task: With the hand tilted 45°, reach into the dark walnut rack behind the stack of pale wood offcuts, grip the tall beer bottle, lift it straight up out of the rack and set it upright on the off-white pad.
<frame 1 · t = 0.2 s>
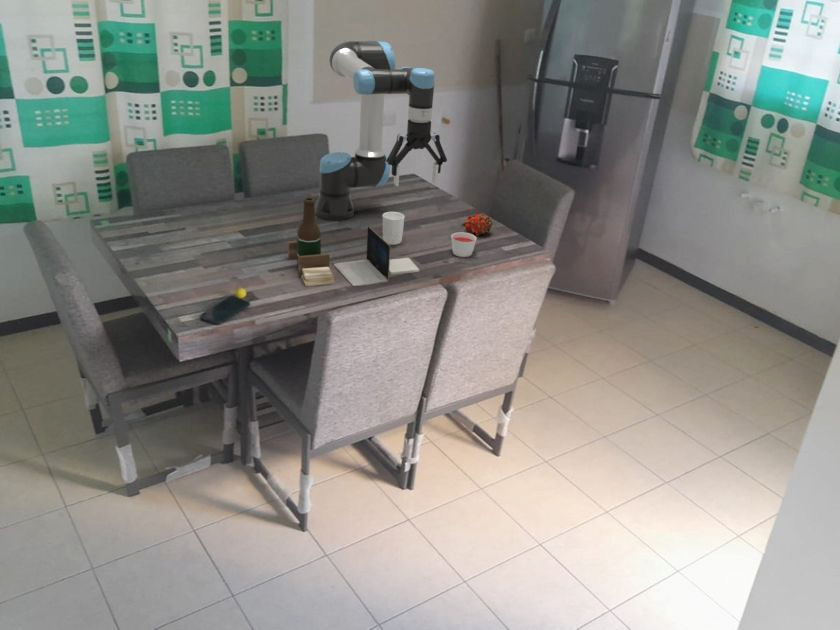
hand: (415, 183, 260), 28 cm above the table, tool pointing down, fingers open, 13 cm apart
beer bottle: (308, 267, 264), on the table
laptop: (360, 274, 262), on the table
placing pad: (400, 267, 269), on the table
dragon fruit: (476, 234, 300), on the table
white cup: (392, 241, 288), on the table
candle: (462, 254, 283), on the table
offcut rack: (311, 271, 260), on the table
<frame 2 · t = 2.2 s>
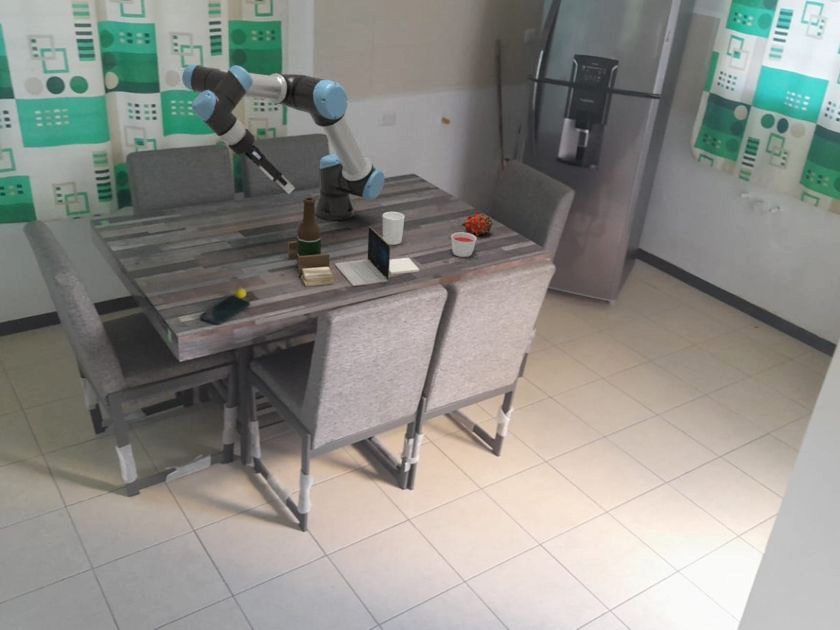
hand: (283, 184, 244), 30 cm above the table, tool tilted 40°, fingers open, 13 cm apart
nothing on the table moved.
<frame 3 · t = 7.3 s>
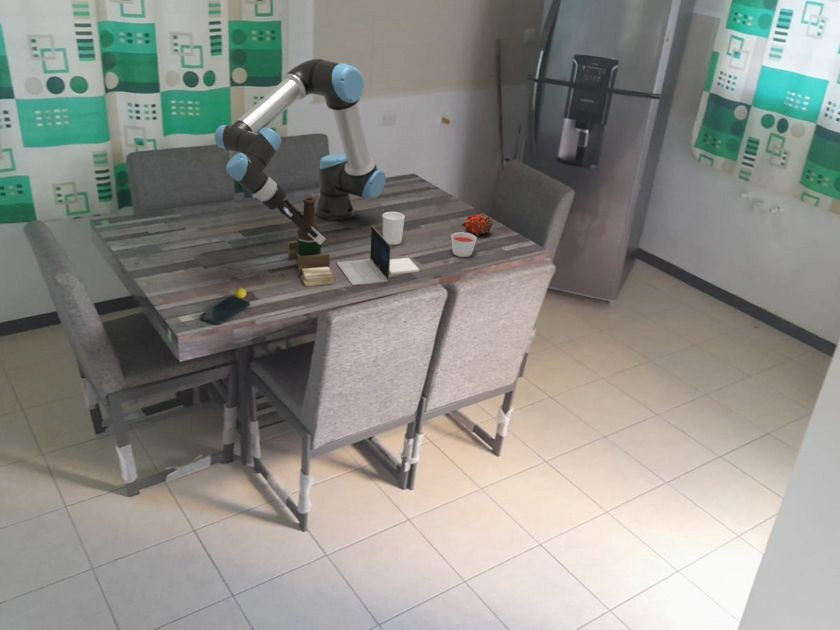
hand: (319, 236, 260), 11 cm above the table, tool tilted 45°, fingers closed on beer bottle, 7 cm apart
beer bottle: (309, 267, 264), on the table, touching gripper
when the fingers open (13 cm above the table, at t = 16.0 s): beer bottle drops 2 cm, resting on placing pad.
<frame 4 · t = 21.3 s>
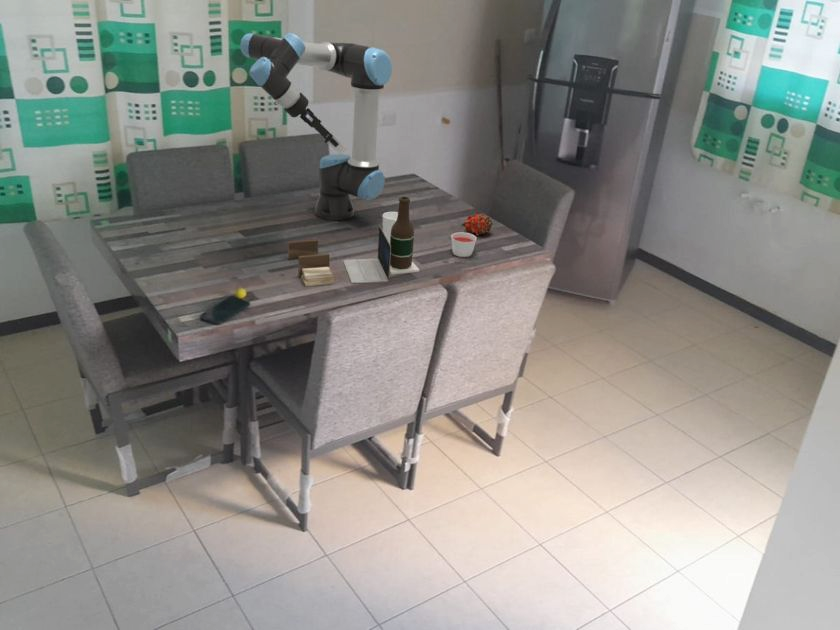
hand: (337, 145, 259), 38 cm above the table, tool tilted 45°, fingers open, 13 cm apart
beer bottle: (400, 265, 268), point 1 cm above the table, touching placing pad
laptop: (365, 272, 264), on the table
everything else where it was.
at the end: beer bottle inside the target area on the placing pad (0.0 cm from its centre), point 0.6 cm above the placing pad's base; beer bottle tilted 0°; the gripper is holding nothing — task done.
